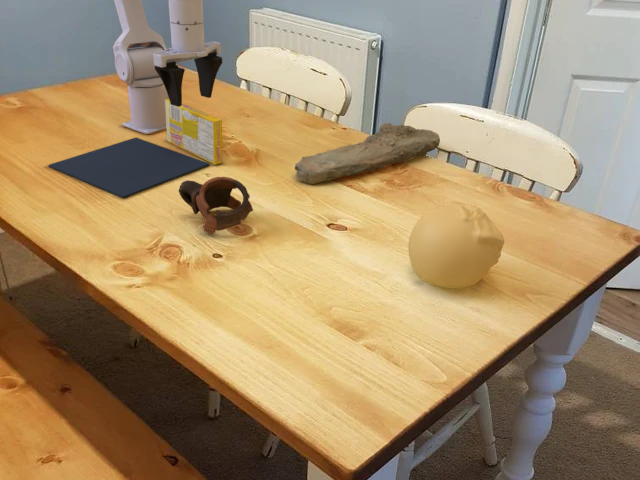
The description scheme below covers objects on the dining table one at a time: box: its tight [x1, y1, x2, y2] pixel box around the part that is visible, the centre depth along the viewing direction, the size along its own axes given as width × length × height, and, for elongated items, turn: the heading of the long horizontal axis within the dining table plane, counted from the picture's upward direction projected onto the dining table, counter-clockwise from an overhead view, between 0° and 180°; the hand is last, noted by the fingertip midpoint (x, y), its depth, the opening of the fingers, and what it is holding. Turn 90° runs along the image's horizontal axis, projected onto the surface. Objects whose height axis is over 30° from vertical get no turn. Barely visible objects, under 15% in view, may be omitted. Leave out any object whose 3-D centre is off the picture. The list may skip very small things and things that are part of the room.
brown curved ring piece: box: [178, 176, 254, 236], centre depth 106 cm, size 12×10×8 cm
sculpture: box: [407, 200, 505, 289], centre depth 94 cm, size 11×12×11 cm
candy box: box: [165, 99, 223, 166], centre depth 130 cm, size 16×2×8 cm, turn 43°
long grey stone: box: [294, 122, 441, 185], centre depth 130 cm, size 35×5×10 cm
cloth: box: [48, 137, 210, 199], centre depth 124 cm, size 20×20×1 cm
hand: (191, 100), depth 126 cm, fingers open, 7 cm apart
